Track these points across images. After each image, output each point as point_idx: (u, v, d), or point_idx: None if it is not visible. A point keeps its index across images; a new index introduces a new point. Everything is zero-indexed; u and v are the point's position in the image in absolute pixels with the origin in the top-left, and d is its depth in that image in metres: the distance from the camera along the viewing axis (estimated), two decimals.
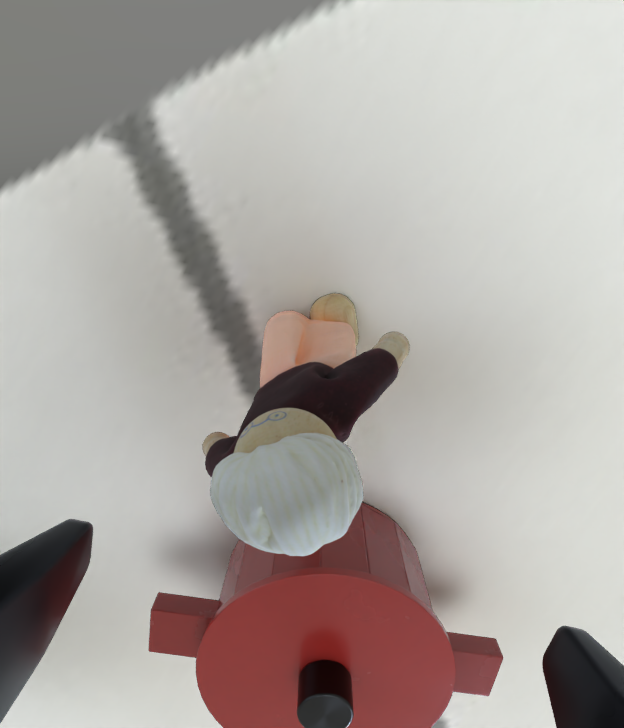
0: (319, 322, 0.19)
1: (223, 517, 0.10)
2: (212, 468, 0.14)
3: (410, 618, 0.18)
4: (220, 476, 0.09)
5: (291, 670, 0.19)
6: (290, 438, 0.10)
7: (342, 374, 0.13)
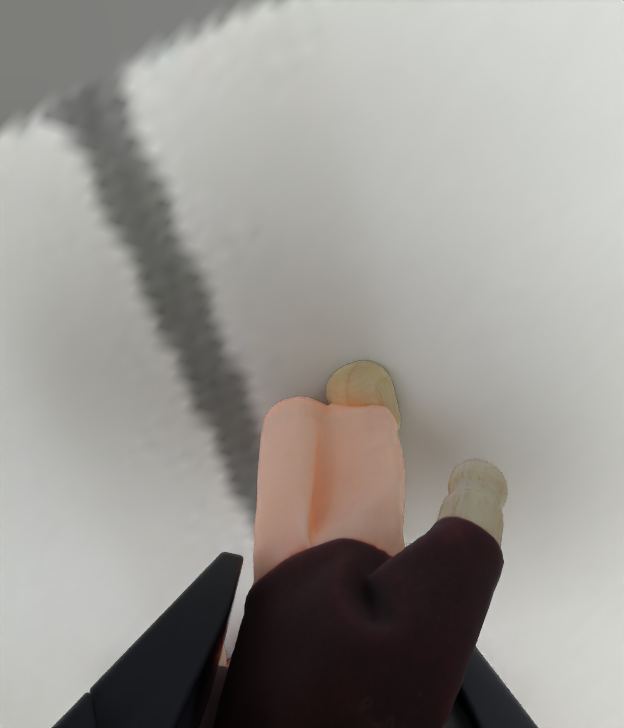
0: (342, 411, 0.13)
1: None
2: None
3: None
4: None
5: None
6: None
7: (402, 613, 0.06)
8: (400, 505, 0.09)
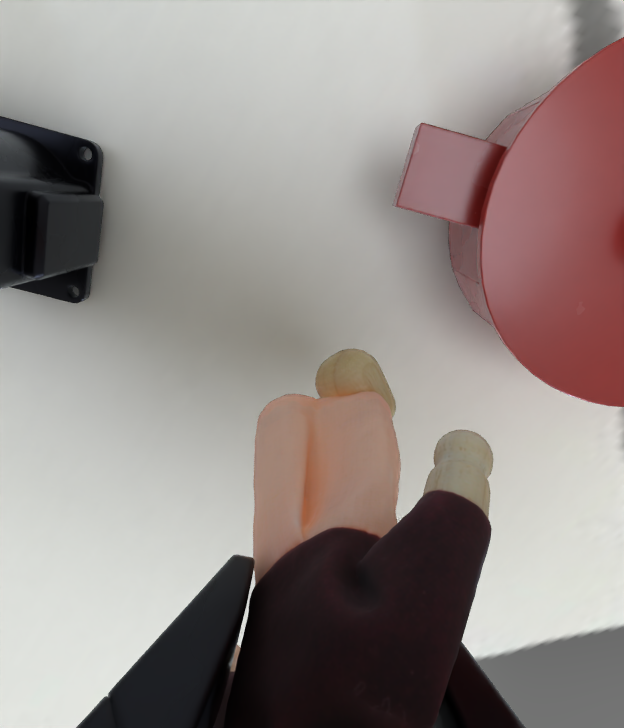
0: (331, 403, 0.13)
1: None
2: None
3: None
4: None
5: None
6: None
7: (387, 594, 0.06)
8: (391, 487, 0.09)
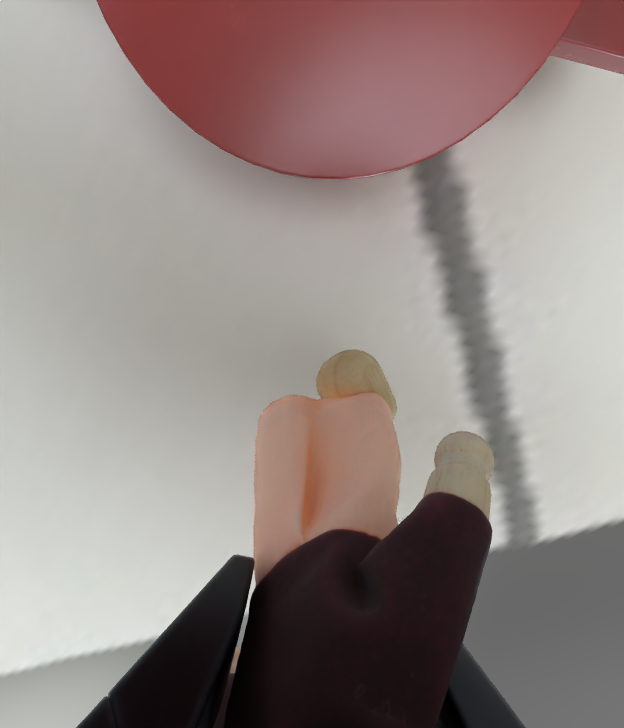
0: (333, 404, 0.13)
1: None
2: None
3: None
4: None
5: None
6: None
7: (388, 597, 0.06)
8: (392, 489, 0.09)
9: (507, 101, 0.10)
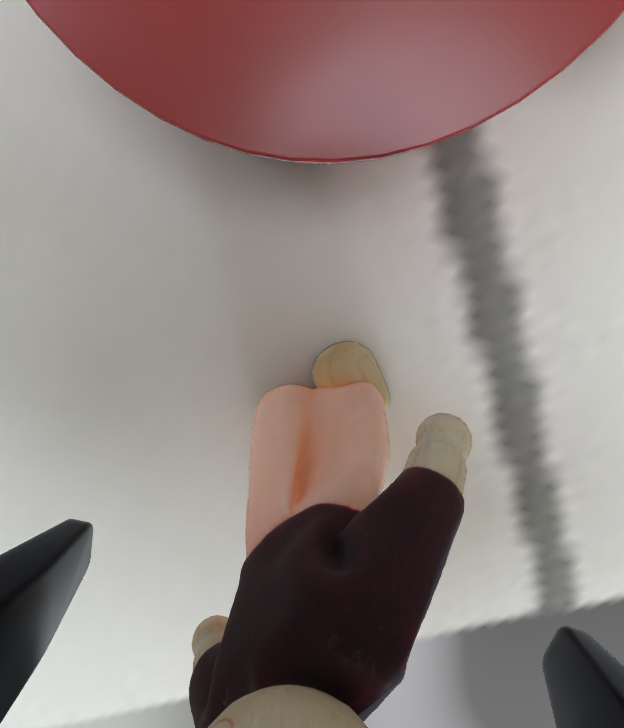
0: (326, 393, 0.13)
1: None
2: None
3: None
4: None
5: None
6: None
7: (361, 558, 0.07)
8: (377, 468, 0.10)
9: (592, 40, 0.07)
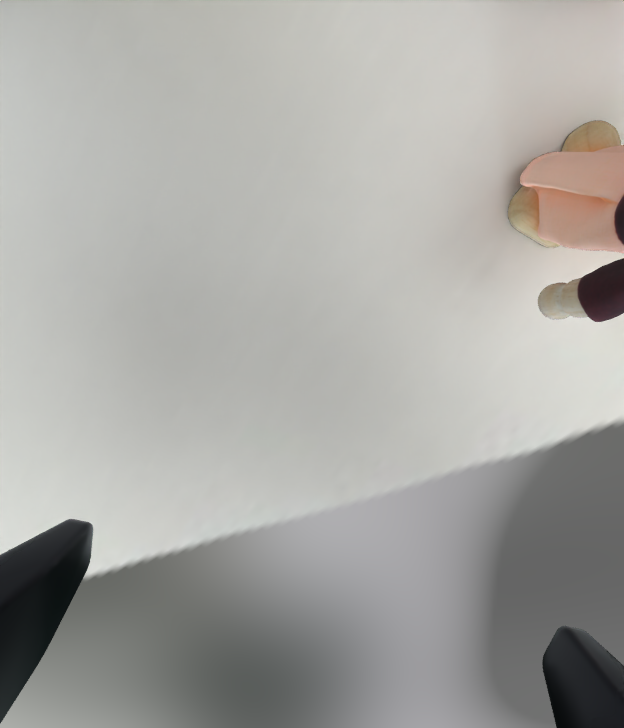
0: None
1: None
2: (610, 298, 0.11)
3: None
4: None
5: None
6: None
7: None
8: None
9: None
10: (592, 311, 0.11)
